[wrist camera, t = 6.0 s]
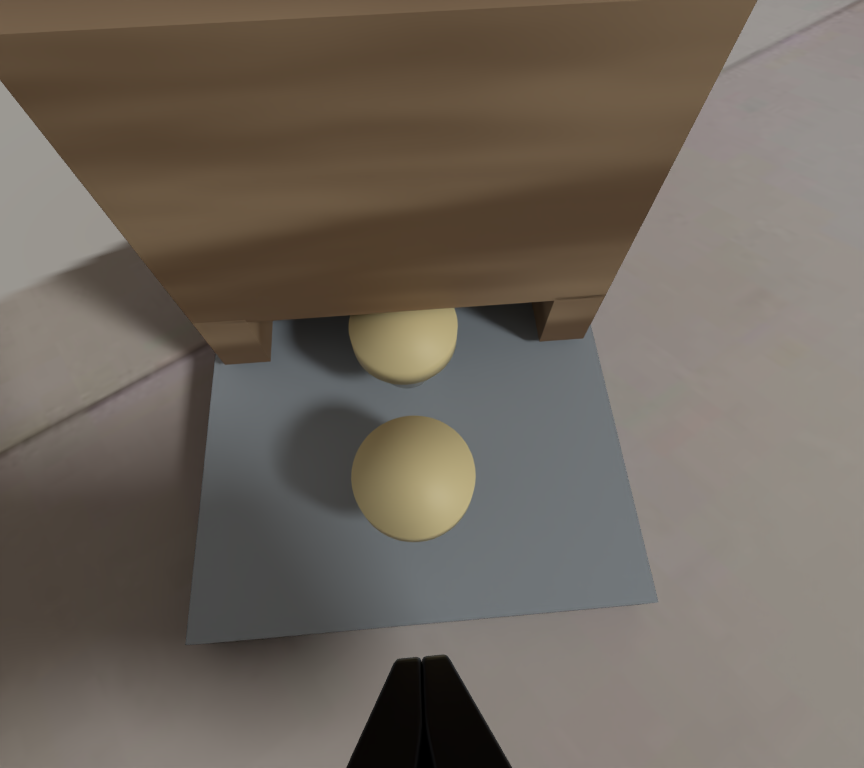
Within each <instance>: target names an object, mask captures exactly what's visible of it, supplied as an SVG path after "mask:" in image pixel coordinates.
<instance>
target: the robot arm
mask: <svg viewBox="0 0 864 768" xmlns="http://www.w3.org/2000/svg"><path fill="white" fill-rule="evenodd" d="M346 768H512V767H511V765H510V763H509V761H508V760H507V758H506V756H505V754H504V753H503V751H502V749H501V747H500V746H499V744H498V742H497V740H496V739H495V737H494V735H493V733H492V732H491V730H490V728H489V726H488V725H487V723H486V721H485V719H484V718H483V716H482V714H481V713H480V711H479V709H478V707H477V706H476V704H475V702H474V700H473V699H472V697H471V695H470V693H469V692H468V690H467V688H466V686H465V685H464V683H463V681H462V679H461V678H460V676H459V674H458V672H457V671H456V669H455V667H454V666H453V664H452V662H451V660H450V659H449V657H448V656H446V655H434V656H426V657H424V658H423V659H422V661H421V659H420V658H418V657H413V658H402V659H397V660H396V661H395V663H394V664H393V666H392V668H391V671H390V673H389V675H388V677H387V679H386V682H385V684H384V686H383V688H382V690H381V693H380V695H379V697H378V699H377V701H376V704H375V706H374V708H373V710H372V712H371V714H370V717H369V719H368V721H367V723H366V725H365V728H364V730H363V732H362V734H361V736H360V739H359V741H358V743H357V745H356V747H355V750H354V752H353V754H352V756H351V758H350V761H349V763H348V765H347V767H346Z"/></svg>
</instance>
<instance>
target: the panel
mask: <svg viewBox="0 0 864 768" xmlns="http://www.w3.org/2000/svg"><path fill="white" fill-rule="evenodd" d="M756 2H757V0H0V80H1V82H2V83H3V84H4V85H5V87H6V88H7V89H8V91H9V92H10V93H11V94H12V96H13V97H14V98H15V99H16V101H17V102H18V103H19V105H20V106H21V107H22V108H23V109H24V111H25V112H26V113H27V114H28V116H29V117H30V118H31V120H32V121H33V122H34V123H35V125H36V126H37V127H38V129H39V130H40V131H41V132H42V134H43V135H44V136H45V137H46V139H47V140H48V141H49V143H50V144H51V145H52V146H53V147H54V149H55V150H56V151H57V153H58V154H59V155H60V156H61V158H62V159H63V160H64V162H65V163H66V164H67V165H68V167H70V169H71V170H72V172H73V173H74V174H75V175H76V177H77V178H78V179H79V180H80V182H81V183H82V184H83V186H84V187H85V188H86V189H87V191H88V192H89V193H90V194H91V196H92V197H93V198H94V200H95V201H96V202H97V203H98V205H99V206H100V207H101V208H102V210H103V211H104V212H105V213H106V215H107V216H108V217H109V218H110V220H111V221H112V222H113V224H114V225H115V226H116V227H117V229H118V230H119V231H120V232H121V234H122V235H123V236H124V238H125V239H126V240H127V241H128V243H129V244H130V245H131V246H132V248H133V249H134V250H135V251H136V253H137V254H138V255H139V257H140V258H141V259H142V260H143V262H144V263H145V264H146V265H147V267H148V268H149V269H150V270H151V272H152V273H153V274H154V276H155V277H156V278H157V279H158V281H159V282H160V283H161V284H162V286H163V287H164V288H165V290H166V291H167V292H168V293H169V295H170V296H171V297H172V298H173V300H174V301H175V302H176V303H177V305H178V306H179V307H180V309H181V310H182V311H183V312H184V314H185V315H186V316H187V317H188V319H189V320H190V321H191V322H192V324H193V325H194V326H195V328H196V329H197V330H198V331H199V333H200V334H201V335H202V336H203V338H204V339H205V340H206V341H207V343H208V344H209V345H210V347H211V348H212V349H213V350H214V352H215V353H216V354H217V355H218V357H219V358H220V359H221V360H222V362H223V363H224V364H225V365H231V364H244V363H258V362H271V346H272V327H273V321H276V320H290V319H304V318H318V317H332V316H346V315H360V314H374V313H388V312H402V311H416V310H430V309H444V308H458V307H472V306H486V305H500V304H514V303H528V302H532V306H533V312H534V317H535V322H536V327H537V332H538V338H539V342H542V341H556V340H569V339H583V338H584V336H585V334H586V332H587V330H588V328H589V326H590V324H591V322H592V320H593V319H594V317H595V315H596V313H597V311H598V309H599V307H600V305H601V303H602V301H603V299H604V297H605V295H606V293H607V291H608V289H609V287H610V286H611V284H612V282H613V280H614V278H615V276H616V274H617V272H618V270H619V268H620V266H621V264H622V262H623V260H624V258H625V256H626V254H627V252H628V251H629V249H630V247H631V245H632V243H633V241H634V239H635V237H636V235H637V233H638V231H639V229H640V227H641V225H642V223H643V221H644V219H645V218H646V216H647V214H648V212H649V210H650V208H651V206H652V204H653V202H654V200H655V198H656V196H657V194H658V192H659V190H660V188H661V186H662V185H663V183H664V181H665V179H666V177H667V175H668V173H669V171H670V169H671V167H672V165H673V163H674V161H675V159H676V157H677V155H678V153H679V151H680V150H681V148H682V146H683V144H684V142H685V140H686V138H687V136H688V134H689V132H690V130H691V128H692V126H693V124H694V122H695V120H696V118H697V117H698V115H699V113H700V111H701V109H702V107H703V105H704V103H705V101H706V99H707V97H708V95H709V93H710V91H711V89H712V87H713V85H714V83H715V82H716V80H717V78H718V76H719V74H720V72H721V70H722V68H723V66H724V64H725V62H726V60H727V58H728V56H729V54H730V52H731V50H732V49H733V47H734V45H735V43H736V41H737V39H738V37H739V35H740V33H741V31H742V29H743V27H744V25H745V23H746V21H747V19H748V17H749V16H750V14H751V12H752V10H753V8H754V6H755V4H756Z"/></svg>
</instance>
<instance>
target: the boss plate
mask: <svg viewBox="0 0 864 768" xmlns="http://www.w3.org/2000/svg"><path fill="white" fill-rule="evenodd" d="M656 602H658V599H657V594H656V590H655V586H654V582H653V578H652V574H651V570H650V566H649V562H648V558H647V554H646V549H645V545H644V541H643V537H642V533H641V529H640V525H639V521H638V517H637V513H636V508H635V504H634V500H633V496H632V492H631V488H630V484H629V480H628V476H627V472H626V468H625V463H624V459H623V455H622V451H621V447H620V443H619V439H618V435H617V431H616V427H615V422H614V418H613V414H612V410H611V406H610V402H609V398H608V394H607V390H606V386H605V382H604V377H603V373H602V369H601V365H600V361H599V357H598V353H597V349H596V345H595V341H594V336H593V332H592V328H591V324H590V326H589V328H588V330H587V332H586V334H585V336H584V338H583V339H569V340H556V341H542V342H539V338H538V332H537V327H536V322H535V317H534V312H533V306H532V302H528V303H514V304H500V305H486V306H472V307H458V308H444V309H430V310H416V311H402V312H388V313H374V314H360V315H346V316H332V317H318V318H304V319H290V320H276V321H273V327H272V346H271V362H258V363H244V364H231V365H225V364H224V363H223V362H222V360H221V359H220V358H219V357H218V355H217V354H215V364H214V374H213V383H212V393H211V403H210V412H209V422H208V432H207V441H206V451H205V461H204V470H203V480H202V490H201V499H200V509H199V519H198V529H197V538H196V548H195V558H194V567H193V577H192V587H191V596H190V606H189V616H188V625H187V635H186V645H194V644H209V643H220V642H231V641H242V640H253V639H264V638H275V637H286V636H297V635H308V634H319V633H330V632H341V631H353V630H364V629H375V628H386V627H397V626H408V625H419V624H430V623H441V622H452V621H463V620H474V619H485V618H496V617H507V616H518V615H529V614H540V613H551V612H562V611H573V610H584V609H595V608H606V607H617V606H628V605H639V604H648V603H656Z"/></svg>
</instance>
